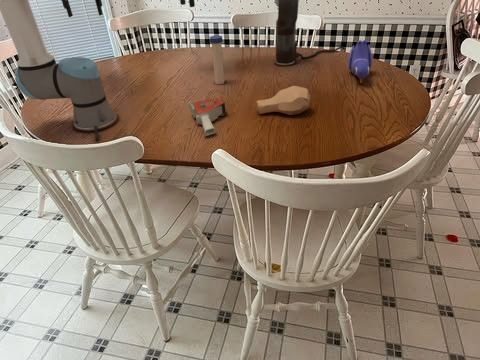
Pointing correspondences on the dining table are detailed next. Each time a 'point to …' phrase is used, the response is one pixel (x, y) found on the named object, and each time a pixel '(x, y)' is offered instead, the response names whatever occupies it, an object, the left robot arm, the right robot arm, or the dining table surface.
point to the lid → (216, 39)
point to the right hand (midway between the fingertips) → (187, 5)
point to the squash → (286, 101)
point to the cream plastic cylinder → (218, 63)
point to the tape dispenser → (207, 113)
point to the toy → (360, 59)
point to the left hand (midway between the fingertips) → (85, 15)
